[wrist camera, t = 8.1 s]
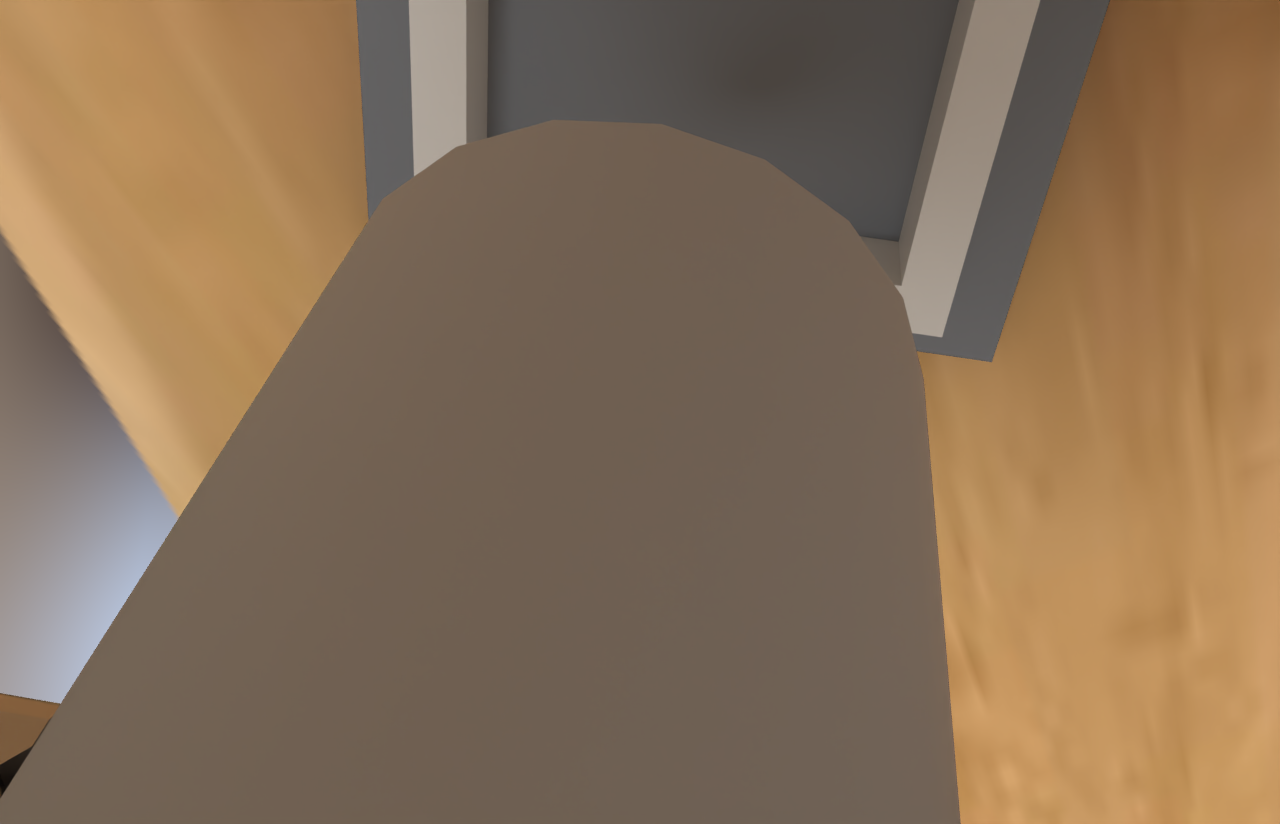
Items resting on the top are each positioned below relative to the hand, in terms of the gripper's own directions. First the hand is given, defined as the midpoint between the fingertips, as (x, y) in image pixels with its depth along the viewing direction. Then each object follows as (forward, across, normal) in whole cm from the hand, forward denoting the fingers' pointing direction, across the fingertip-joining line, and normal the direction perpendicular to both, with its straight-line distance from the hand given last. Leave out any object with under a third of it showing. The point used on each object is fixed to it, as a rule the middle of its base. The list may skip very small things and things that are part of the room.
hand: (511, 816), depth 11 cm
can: (+7, 0, 0) cm, 7 cm away
